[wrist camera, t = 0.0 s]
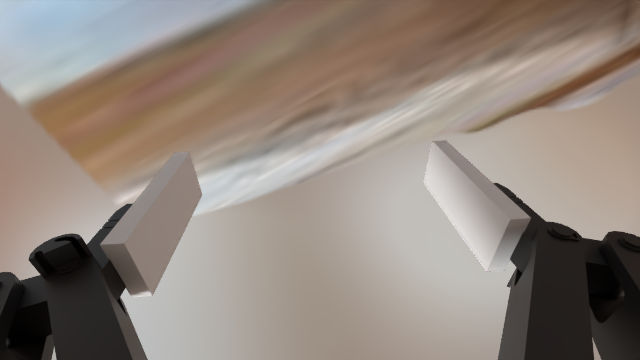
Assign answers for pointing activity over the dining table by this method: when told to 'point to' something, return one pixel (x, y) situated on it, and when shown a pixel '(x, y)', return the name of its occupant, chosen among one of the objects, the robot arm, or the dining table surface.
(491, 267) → the robot arm
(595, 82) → the dining table surface
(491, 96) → the dining table surface
